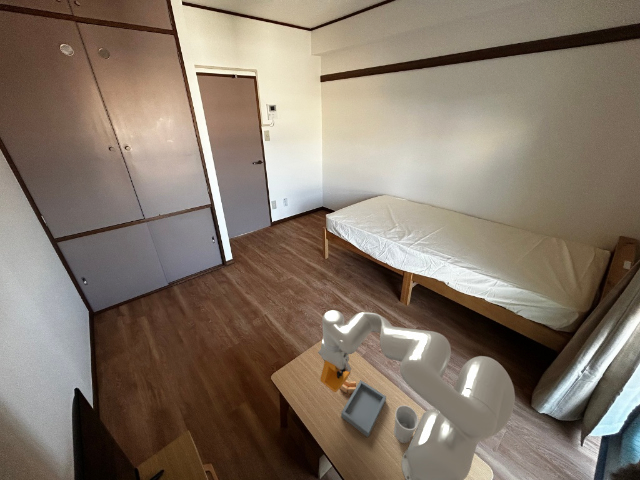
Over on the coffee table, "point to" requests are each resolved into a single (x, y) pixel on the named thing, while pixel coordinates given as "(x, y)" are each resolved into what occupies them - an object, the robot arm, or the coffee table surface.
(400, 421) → the cup
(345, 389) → the clip
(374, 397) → the gray tray
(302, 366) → the coffee table surface
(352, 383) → the clip
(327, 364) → the bracket
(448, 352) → the robot arm
